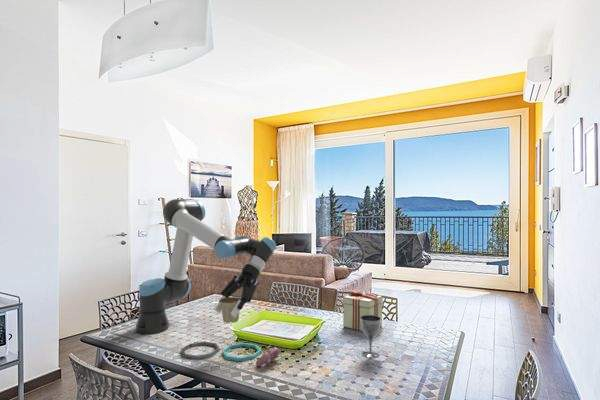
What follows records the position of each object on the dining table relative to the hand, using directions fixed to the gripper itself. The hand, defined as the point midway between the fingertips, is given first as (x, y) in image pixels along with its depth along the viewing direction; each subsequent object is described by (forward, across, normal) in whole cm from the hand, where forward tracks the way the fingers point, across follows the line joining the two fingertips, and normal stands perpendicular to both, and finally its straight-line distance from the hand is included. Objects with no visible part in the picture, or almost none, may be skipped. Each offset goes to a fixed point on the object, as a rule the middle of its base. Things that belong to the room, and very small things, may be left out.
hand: (224, 313), depth 150 cm
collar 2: (+8, -3, -16) cm, 19 cm away
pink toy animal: (+8, -18, -17) cm, 26 cm away
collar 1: (+15, +11, -9) cm, 21 cm away
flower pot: (+1, 0, -5) cm, 5 cm away
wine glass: (-15, -44, -40) cm, 62 cm away
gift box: (-35, -23, -61) cm, 74 cm away
